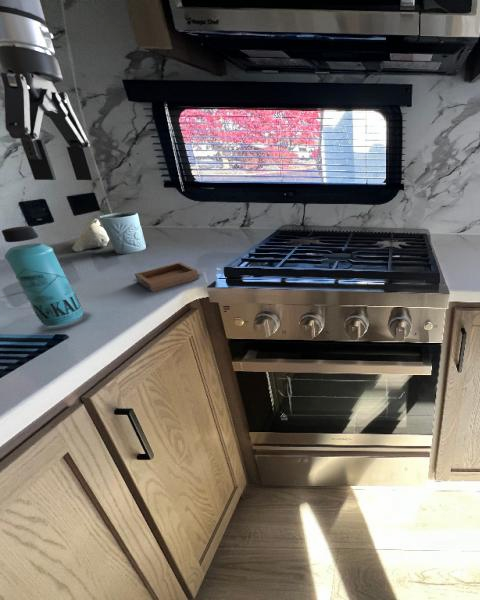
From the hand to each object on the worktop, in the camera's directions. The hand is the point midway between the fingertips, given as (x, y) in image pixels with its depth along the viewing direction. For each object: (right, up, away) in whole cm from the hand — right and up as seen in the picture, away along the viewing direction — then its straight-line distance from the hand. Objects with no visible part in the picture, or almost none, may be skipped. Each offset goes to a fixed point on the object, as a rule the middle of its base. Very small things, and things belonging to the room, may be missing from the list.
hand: (67, 180), depth 65 cm
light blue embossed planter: (-27, -6, +49) cm, 57 cm away
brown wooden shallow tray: (+4, -18, +23) cm, 30 cm away
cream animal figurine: (-45, -4, +54) cm, 70 cm away
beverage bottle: (-2, -29, +2) cm, 29 cm away
